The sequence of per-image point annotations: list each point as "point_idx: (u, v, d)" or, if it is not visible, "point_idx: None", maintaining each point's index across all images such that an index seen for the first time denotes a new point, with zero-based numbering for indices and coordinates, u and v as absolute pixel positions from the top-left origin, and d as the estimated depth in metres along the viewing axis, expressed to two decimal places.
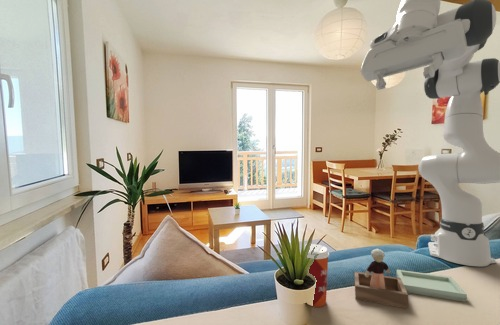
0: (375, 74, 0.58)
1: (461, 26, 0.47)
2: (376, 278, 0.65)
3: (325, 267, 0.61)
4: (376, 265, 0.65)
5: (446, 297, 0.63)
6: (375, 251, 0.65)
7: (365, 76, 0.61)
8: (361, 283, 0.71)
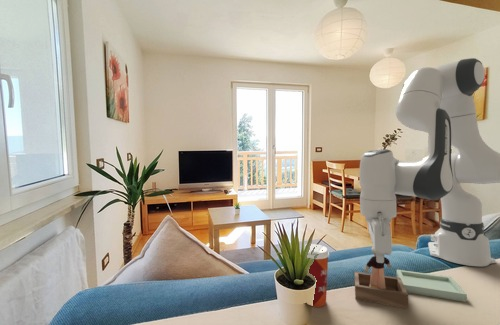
0: None
1: (374, 234, 0.58)
2: (376, 272, 0.66)
3: (325, 267, 0.61)
4: (376, 261, 0.65)
5: (446, 297, 0.63)
6: None
7: None
8: (361, 283, 0.71)
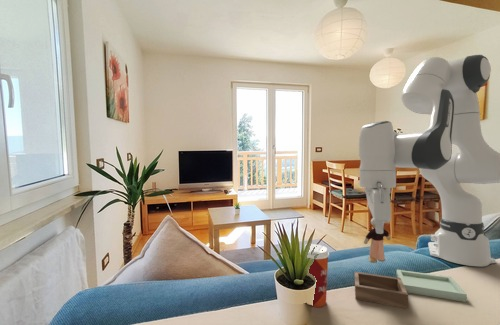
0: None
1: (374, 202, 0.58)
2: (375, 244, 0.66)
3: (325, 267, 0.61)
4: (375, 233, 0.65)
5: (446, 297, 0.63)
6: None
7: None
8: (361, 283, 0.71)
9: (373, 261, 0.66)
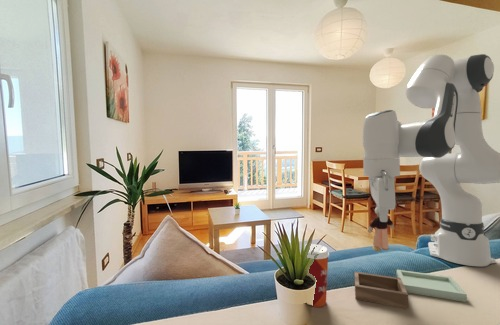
0: (376, 203, 0.70)
1: (378, 189, 0.58)
2: (379, 233, 0.66)
3: (325, 267, 0.61)
4: (379, 221, 0.65)
5: (446, 297, 0.63)
6: (378, 208, 0.65)
7: None
8: (361, 283, 0.71)
9: (377, 250, 0.66)
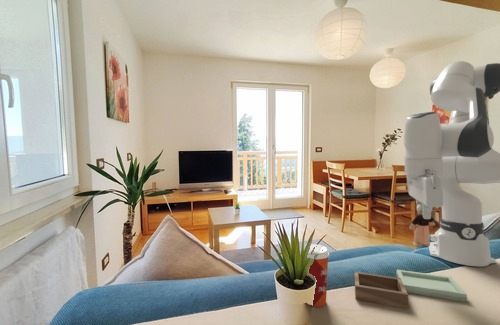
0: (416, 201, 0.73)
1: (426, 188, 0.61)
2: (421, 230, 0.69)
3: (325, 267, 0.61)
4: (421, 218, 0.68)
5: (446, 297, 0.63)
6: (421, 206, 0.68)
7: None
8: (361, 283, 0.71)
9: (419, 245, 0.69)
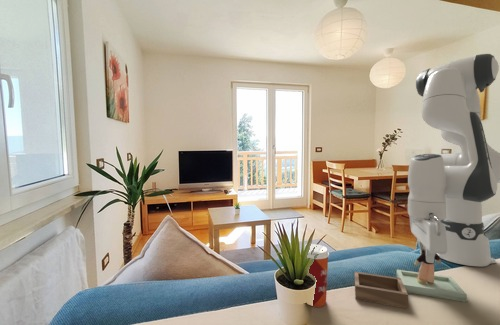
0: (418, 241, 0.73)
1: (430, 234, 0.61)
2: (426, 267, 0.69)
3: (325, 267, 0.61)
4: None
5: (446, 297, 0.63)
6: None
7: None
8: (361, 283, 0.71)
9: (422, 282, 0.69)
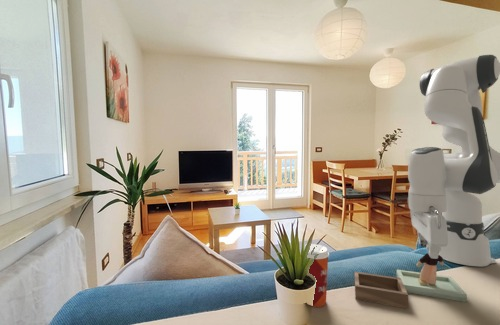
0: (417, 232, 0.75)
1: (430, 227, 0.61)
2: (428, 268, 0.67)
3: (325, 267, 0.61)
4: (430, 258, 0.66)
5: (446, 297, 0.63)
6: None
7: None
8: (361, 283, 0.71)
9: (424, 284, 0.68)
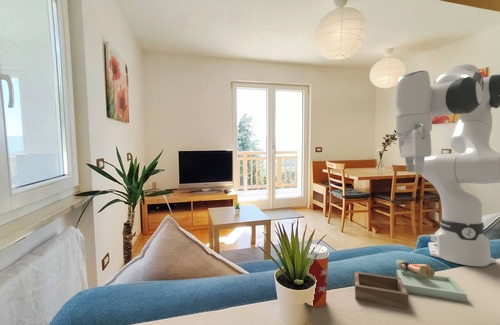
0: (405, 160, 0.78)
1: (415, 138, 0.63)
2: (413, 266, 0.74)
3: (325, 267, 0.61)
4: (404, 262, 0.78)
5: (446, 297, 0.63)
6: None
7: None
8: (361, 283, 0.71)
9: (421, 266, 0.70)
